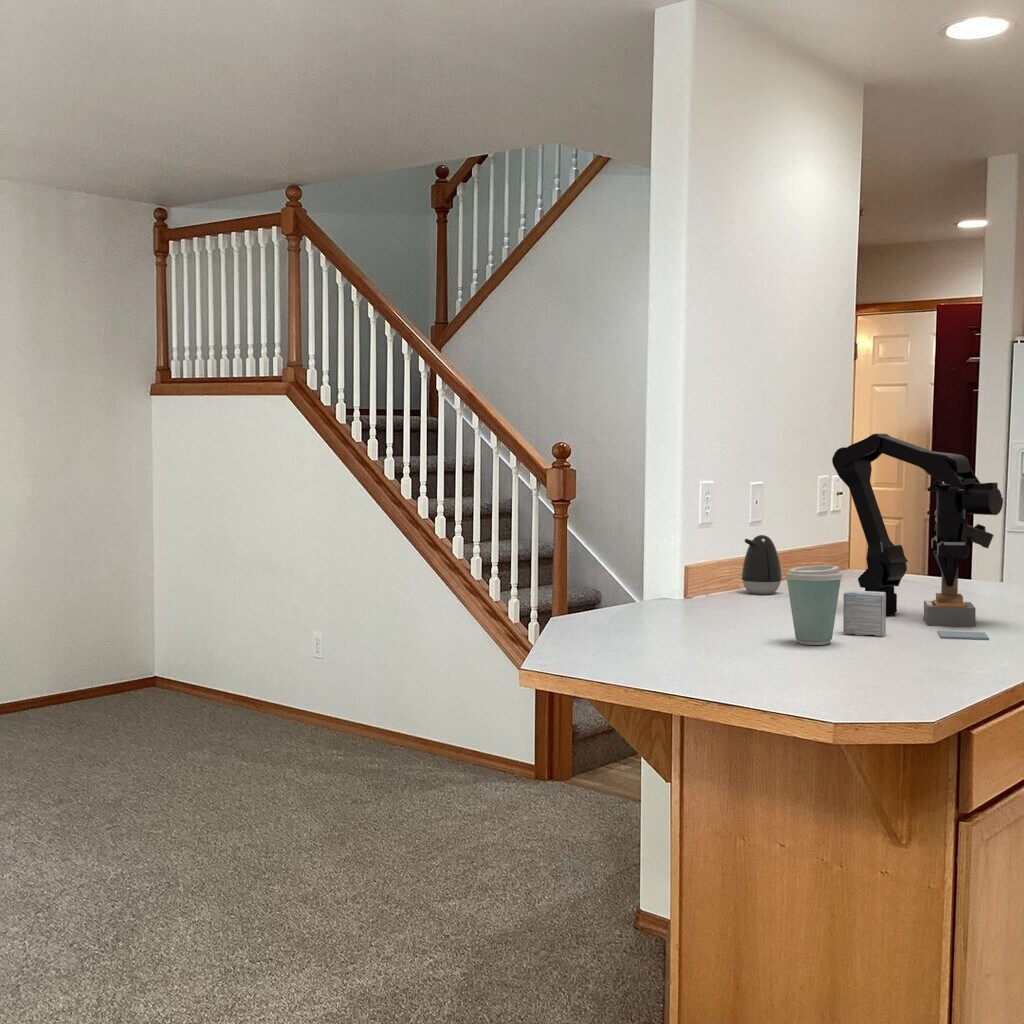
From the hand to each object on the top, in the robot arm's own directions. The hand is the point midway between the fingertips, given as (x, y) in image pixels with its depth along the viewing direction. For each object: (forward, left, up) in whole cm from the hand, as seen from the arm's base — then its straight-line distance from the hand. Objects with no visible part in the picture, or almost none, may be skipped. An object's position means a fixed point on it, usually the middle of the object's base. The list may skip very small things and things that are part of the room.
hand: (949, 585), depth 252 cm
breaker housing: (0, 0, -8) cm, 8 cm away
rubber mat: (+1, -18, -8) cm, 20 cm away
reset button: (0, 0, -7) cm, 7 cm away
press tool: (0, 0, -4) cm, 4 cm away
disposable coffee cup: (-28, -33, -8) cm, 44 cm away
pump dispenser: (-42, +41, -8) cm, 59 cm away
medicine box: (-18, -20, -8) cm, 28 cm away
